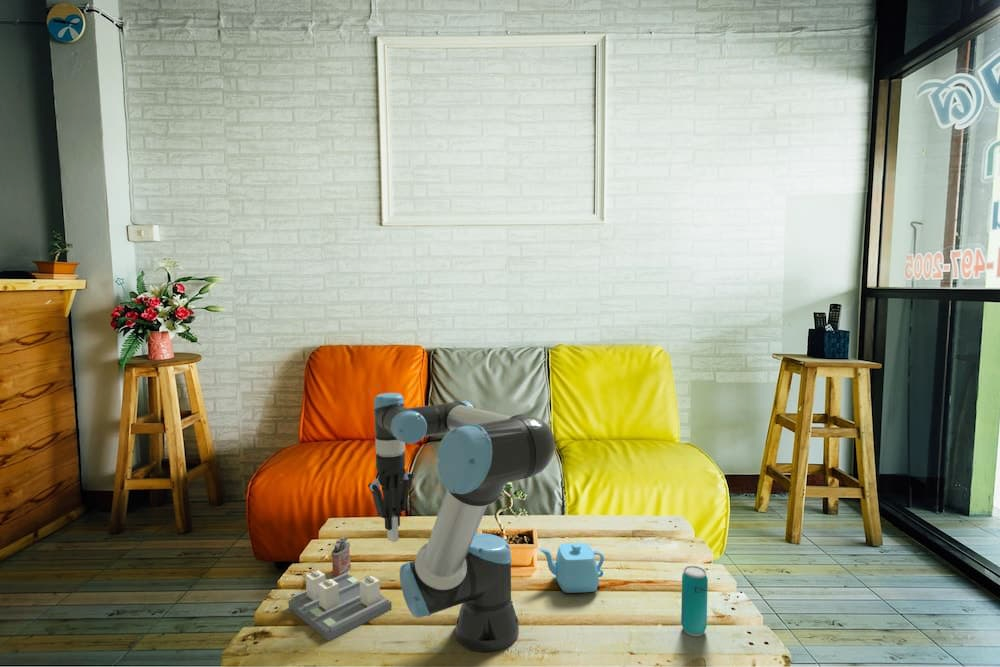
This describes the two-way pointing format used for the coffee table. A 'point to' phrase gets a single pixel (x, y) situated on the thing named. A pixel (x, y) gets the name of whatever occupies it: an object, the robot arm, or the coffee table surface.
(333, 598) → the white rectangular block
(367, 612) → the grey slotted block holder
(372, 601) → the white hollow block
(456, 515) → the robot arm
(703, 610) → the beverage can
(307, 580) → the white hollow block
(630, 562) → the coffee table surface
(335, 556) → the lighter
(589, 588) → the teapot
